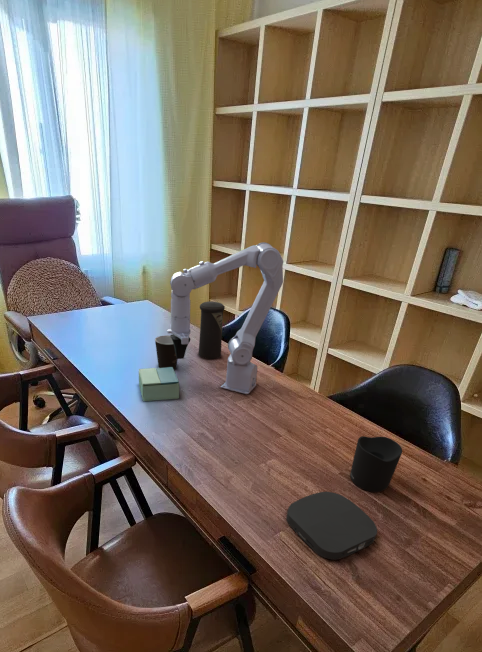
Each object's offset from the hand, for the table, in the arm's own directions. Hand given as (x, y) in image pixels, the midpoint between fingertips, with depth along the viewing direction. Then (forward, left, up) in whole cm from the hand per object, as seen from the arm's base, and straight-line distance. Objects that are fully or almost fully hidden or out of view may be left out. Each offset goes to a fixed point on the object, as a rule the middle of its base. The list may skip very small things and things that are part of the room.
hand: (180, 358), depth 133 cm
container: (+3, -29, -10) cm, 31 cm away
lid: (+2, +5, -5) cm, 7 cm away
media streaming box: (-57, +40, -10) cm, 71 cm away
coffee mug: (+11, -13, -10) cm, 20 cm away
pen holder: (-62, +20, -10) cm, 66 cm away
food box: (+4, +7, -10) cm, 13 cm away
